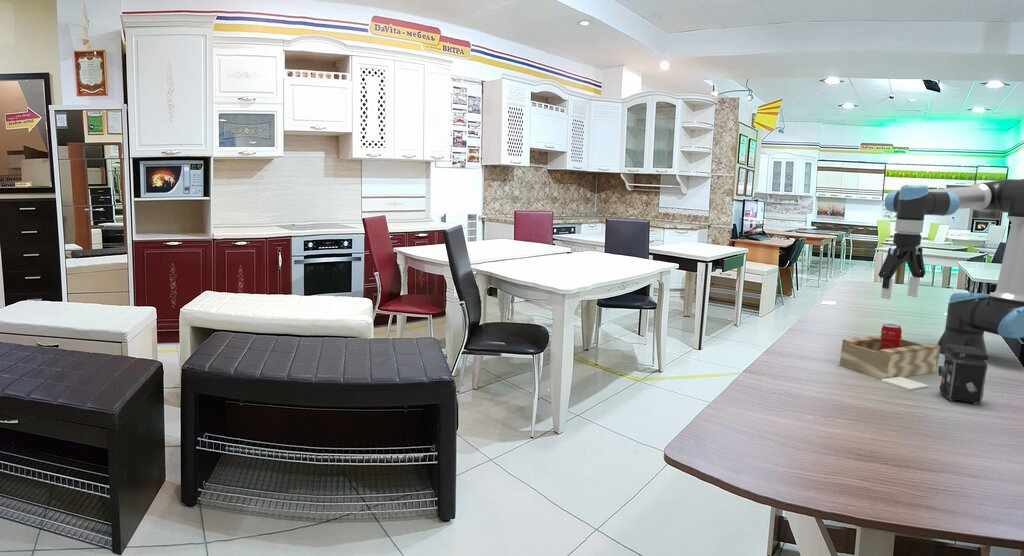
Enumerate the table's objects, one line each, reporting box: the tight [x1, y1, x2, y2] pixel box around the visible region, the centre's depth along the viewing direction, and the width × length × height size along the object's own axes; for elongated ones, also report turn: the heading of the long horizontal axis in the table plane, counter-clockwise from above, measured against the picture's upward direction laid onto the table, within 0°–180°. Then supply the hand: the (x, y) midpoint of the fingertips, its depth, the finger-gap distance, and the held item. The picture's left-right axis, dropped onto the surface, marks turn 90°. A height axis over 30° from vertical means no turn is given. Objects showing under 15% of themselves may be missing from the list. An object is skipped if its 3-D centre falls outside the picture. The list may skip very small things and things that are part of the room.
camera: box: [937, 345, 989, 405], centre depth 175 cm, size 10×11×15 cm
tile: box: [880, 377, 930, 391], centre depth 187 cm, size 9×9×1 cm
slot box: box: [839, 335, 941, 380], centre depth 202 cm, size 26×16×9 cm, turn 114°
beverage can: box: [880, 323, 903, 350], centre depth 202 cm, size 6×6×15 cm
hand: (899, 297), depth 199 cm, fingers open, 13 cm apart
